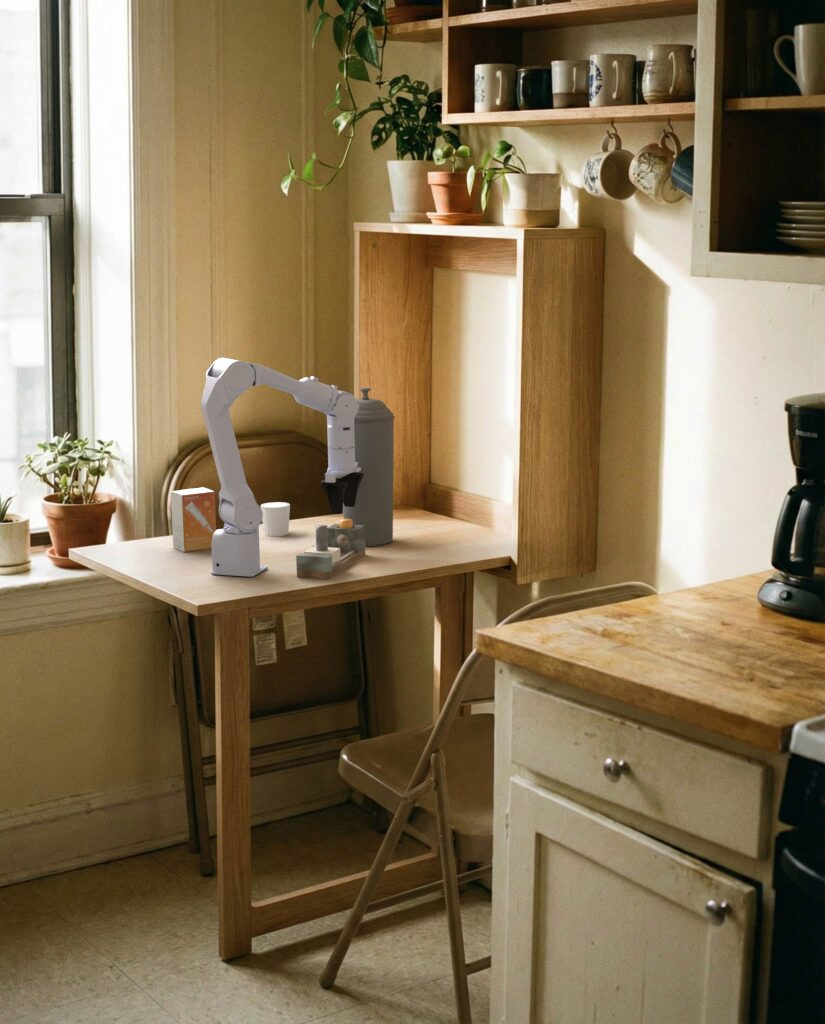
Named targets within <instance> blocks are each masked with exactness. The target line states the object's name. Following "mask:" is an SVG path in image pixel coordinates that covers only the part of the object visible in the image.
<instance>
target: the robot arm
mask: <svg viewBox="0 0 825 1024" xmlns="http://www.w3.org/2000/svg"><path fill="white" fill-rule="evenodd" d="M261 385H265V386H268V387H271V388H274V389H277V390H278V391H282V392H286V393H288V394H291V395H292V396H293V398H294V400H295V402H296V403H298V404H299V405H301V406H303V407H304V406H305V407H308V408H310V409H312V410H315V411H318V412H320V413H324V414H325V415H326V424H327V425H326V429H327V460H328V461H327V462H328V463H327V464H328V467H327V471H326V472H325V473H324V479H323V480H321V481H320V486H321V488H322V490H323V491H324V493H325V495H326V498H327V501H328V505H329V509H330V512H331V514H332V515H343V502H344V506H345V507H354V506H355V502H356V497H357V492H358V488H359V485H360V482H361V480H362V478H363V473H356V472H359V471H361V468H359V467H358V462H355V436H354V417H355V415H356V414H357V412H358V409H359V404H357V401H356V399H357V398H356V397H355V396H354V395H353V394H352V393H351V392H348V391H343V390H338V386H337V385H334V384H331V385H328V384H325V383H323V382H320V381H319V378H318V377H316V376H313V375H312V376H310V377H309V376H308V377H307V376H305V377H302V378H301V379H299V380H298V379H296V378H294V377H291V376H288V375H286V374H285V373H282V372H280V371H277V370H275V369H272V368H270V367H268V366H265V365H263V364H257V363H253V362H247V361H244V360H241V359H240V360H236V359H232V358H229V357H224V356H223V357H219V358H217V359H216V360H215V361H213V363H212V364H211V365H210V367H209V368H208V369H207V371H206V372H205V384H204V388H203V392H202V397H201V400H200V409H201V412H202V415H203V421H204V423H205V428H206V432H207V435H208V440H209V444H210V447H211V452H212V456H213V460H214V464H215V468H216V472H217V476H218V479H219V483H220V490H219V492H218V499H219V505H218V514H219V518H220V520H221V521H222V522H224V525H223V528H218V529H216V531H215V532H214V534H213V537H212V543H211V547H212V548H211V565H212V567H211V568H212V571H211V572H210V574H211V575H221V576H234V577H235V576H236V577H247V578H248V577H249V578H252V577H255V576H256V575H258V574H260V573H261V572H263V571H265V570H267V569H268V565H261V555H260V554H261V552H260V531H259V528H260V525H261V524H262V523H263V520H262V519H263V512H262V509H261V505H259V504H258V503H257V501H256V499H255V495H254V493H253V491H252V490H251V488H250V487H249V485H248V482H247V480H246V479H247V478H246V475H245V471H244V467H243V463H242V460H241V459H242V458H241V455H240V451H239V445H238V442H237V439H236V434H235V430H234V426H233V423H232V422H233V421H232V419H231V414H230V409H231V407H232V406H233V404H234V403H235V401H236V400H237V399H238V398H240V396H242V395H243V394H244V393H246V392H248V390H249V389H250V388H251V387H252V386H253V387H259V386H261Z"/></svg>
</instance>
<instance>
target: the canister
mask: <svg viewBox="0 0 825 1024" xmlns="http://www.w3.org/2000/svg"><path fill="white" fill-rule="evenodd" d="M359 391H360V392H361V393H362V396H361V398H356V401H357V404H359V409H358V412H357V414H356V415H355V417H354V436H355V462H358V467H359V468H361V471H359V472H356V473H363V478H362V480H361V482H360V485H359V488H358V492H357V497H356V502H355V506H354V507H345V506H344V502H343V511H342V517H343V518H342V519H352V524H353V525H365V547H375V546H382V545H386V544H389V543H391V542H392V540H393V538H394V537H393V536H394V535H393V532H394V460H395V459H394V457H395V455H394V451H395V450H394V448H395V447H394V442H395V440H394V436H395V434H394V428H395V427H394V425H395V424H394V422H395V420H394V419H395V416H394V412H393V411H391V409H390V408H389V407H387V405H386V403H384V401H382V400H380V399H377V398H370V397H369V394H368V393H369V392H370V391H371V387H360V388H359Z"/></svg>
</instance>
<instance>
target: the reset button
mask: <svg viewBox="0 0 825 1024" xmlns="http://www.w3.org/2000/svg"><path fill="white" fill-rule="evenodd" d="M338 521H339V523H338V524H340V528H345V529H351V528H353V524H352V519H343V518H340V519H339V520H338Z"/></svg>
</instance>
